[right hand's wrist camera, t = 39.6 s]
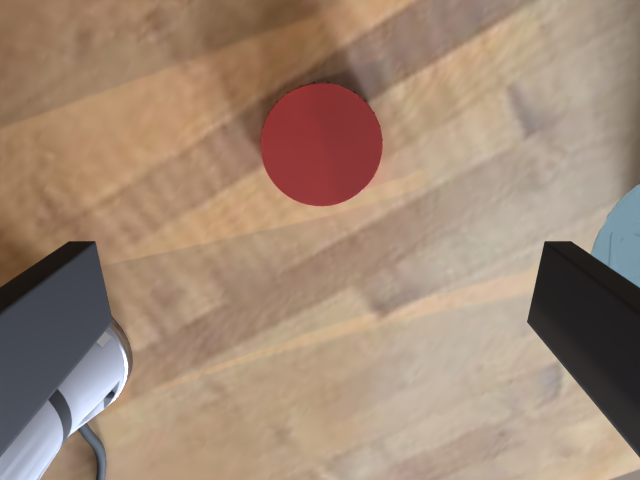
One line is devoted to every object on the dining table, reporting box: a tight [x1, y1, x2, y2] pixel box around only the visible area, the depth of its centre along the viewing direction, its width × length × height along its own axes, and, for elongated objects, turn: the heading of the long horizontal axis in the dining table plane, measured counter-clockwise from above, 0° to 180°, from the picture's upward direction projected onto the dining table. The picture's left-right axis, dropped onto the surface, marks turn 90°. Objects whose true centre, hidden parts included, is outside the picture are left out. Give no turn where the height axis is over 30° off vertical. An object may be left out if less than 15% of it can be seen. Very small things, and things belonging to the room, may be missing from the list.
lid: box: [260, 82, 382, 206], centre depth 36 cm, size 10×10×2 cm
